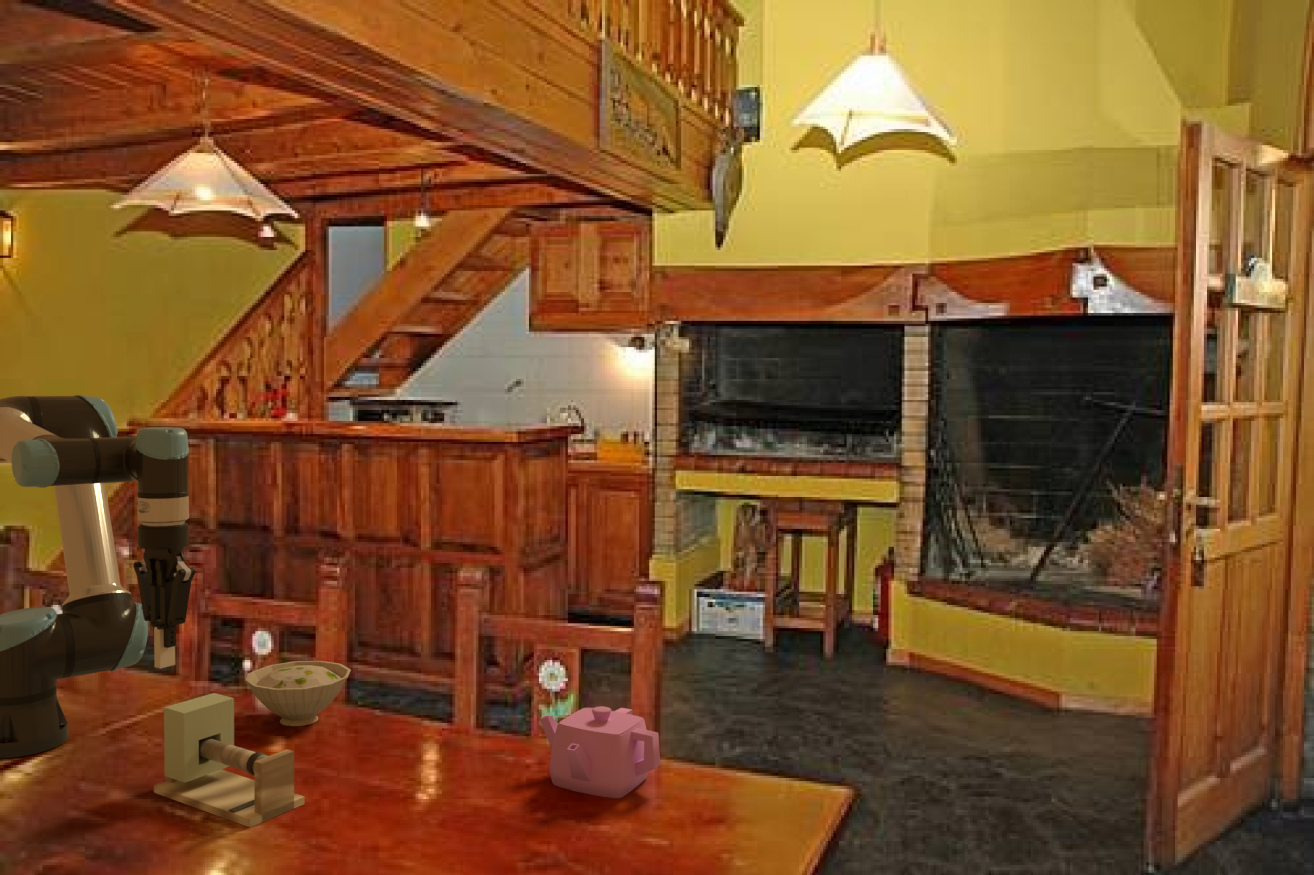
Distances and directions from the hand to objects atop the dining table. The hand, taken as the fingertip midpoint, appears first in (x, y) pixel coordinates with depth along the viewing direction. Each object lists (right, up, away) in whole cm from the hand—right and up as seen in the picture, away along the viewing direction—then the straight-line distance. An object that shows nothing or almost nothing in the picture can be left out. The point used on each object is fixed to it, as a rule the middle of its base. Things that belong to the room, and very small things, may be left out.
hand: (164, 665), depth 171 cm
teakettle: (+70, -20, +4) cm, 73 cm away
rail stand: (+13, -19, -7) cm, 24 cm away
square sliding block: (+7, -16, -3) cm, 18 cm away
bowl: (+12, -17, +30) cm, 37 cm away
